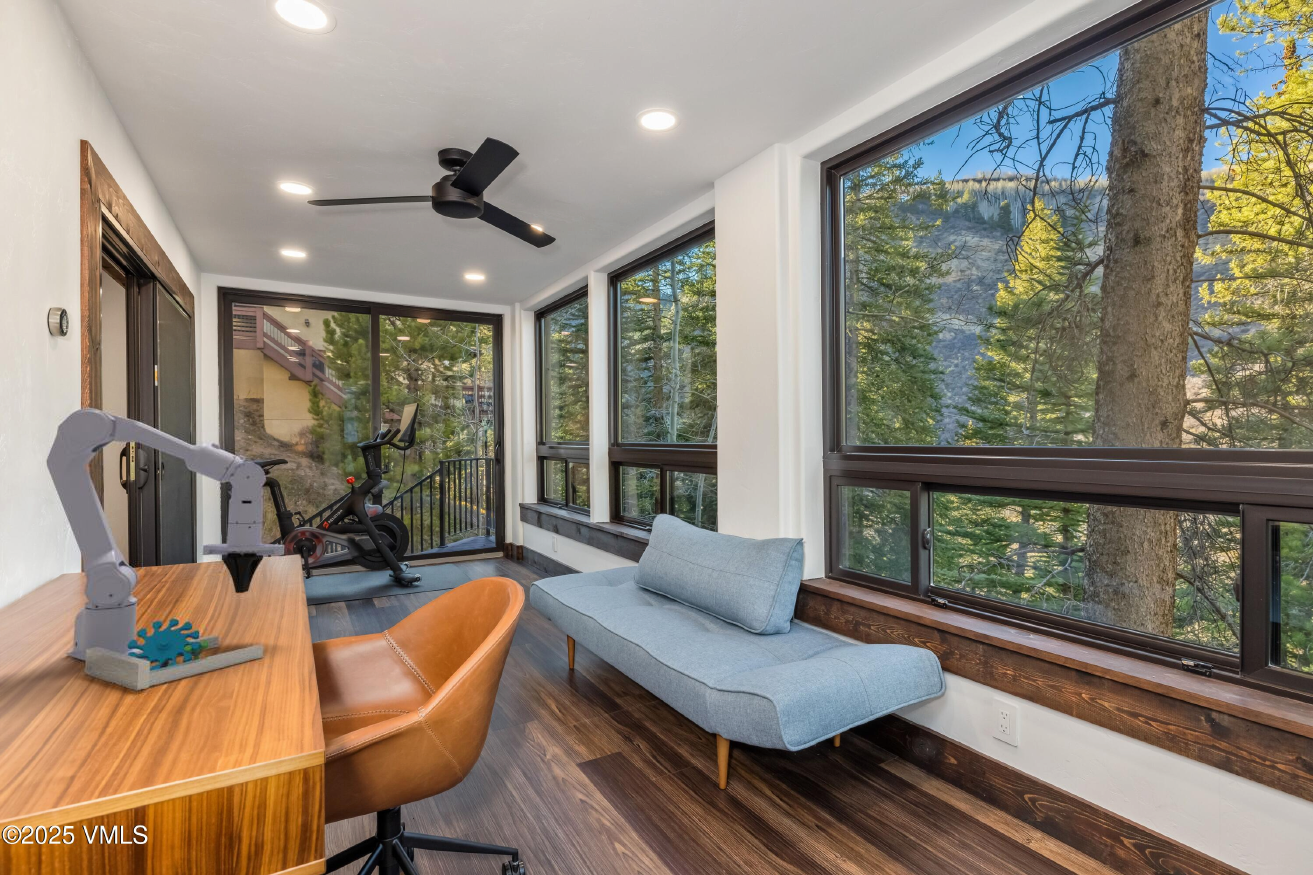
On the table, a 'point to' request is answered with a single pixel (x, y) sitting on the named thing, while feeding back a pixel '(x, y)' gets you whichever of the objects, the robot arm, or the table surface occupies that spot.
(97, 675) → the rail dock
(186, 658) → the gear
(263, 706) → the table surface
